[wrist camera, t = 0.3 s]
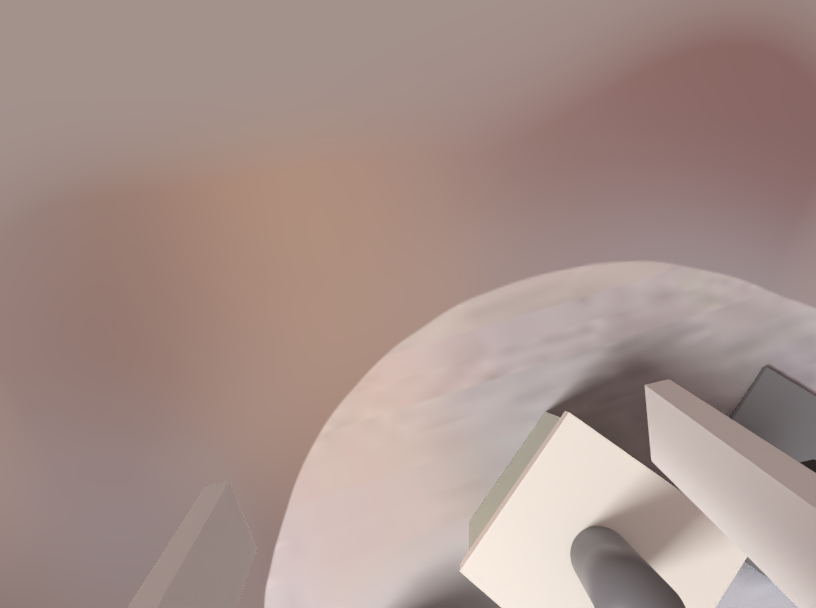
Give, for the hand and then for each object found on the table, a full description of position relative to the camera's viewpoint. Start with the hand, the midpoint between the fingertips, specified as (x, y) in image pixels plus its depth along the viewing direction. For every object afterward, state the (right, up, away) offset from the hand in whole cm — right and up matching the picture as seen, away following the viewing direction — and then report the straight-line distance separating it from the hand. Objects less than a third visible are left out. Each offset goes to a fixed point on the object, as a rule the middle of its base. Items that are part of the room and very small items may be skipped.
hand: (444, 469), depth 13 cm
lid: (+14, -14, +20) cm, 28 cm away
